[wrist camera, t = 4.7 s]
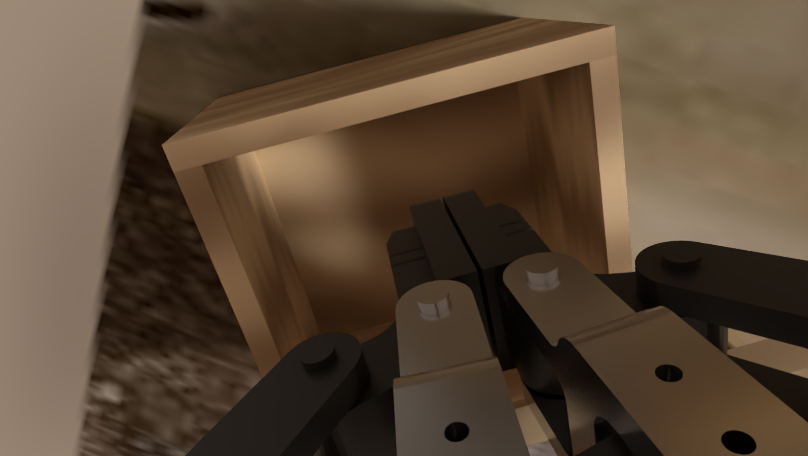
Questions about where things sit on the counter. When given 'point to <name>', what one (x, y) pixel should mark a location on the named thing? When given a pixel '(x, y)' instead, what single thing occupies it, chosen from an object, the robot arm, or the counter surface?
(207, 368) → the counter surface
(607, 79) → the wooden box
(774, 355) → the wooden box lid
